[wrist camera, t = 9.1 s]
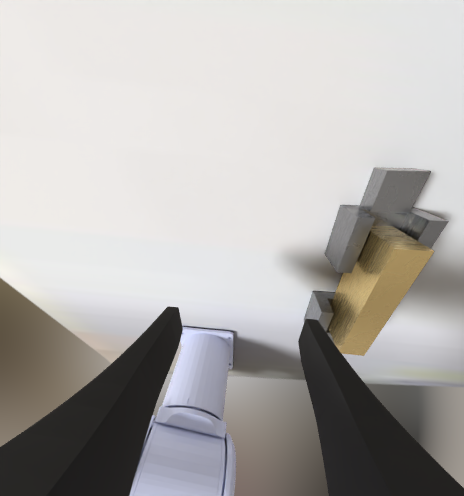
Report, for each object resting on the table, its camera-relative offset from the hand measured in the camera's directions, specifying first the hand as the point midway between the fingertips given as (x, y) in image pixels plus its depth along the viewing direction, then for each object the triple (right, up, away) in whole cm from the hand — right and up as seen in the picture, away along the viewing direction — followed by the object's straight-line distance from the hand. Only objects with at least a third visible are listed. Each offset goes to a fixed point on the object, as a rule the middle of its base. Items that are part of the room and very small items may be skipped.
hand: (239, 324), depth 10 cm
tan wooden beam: (+12, +1, +8) cm, 14 cm away
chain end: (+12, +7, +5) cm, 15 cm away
